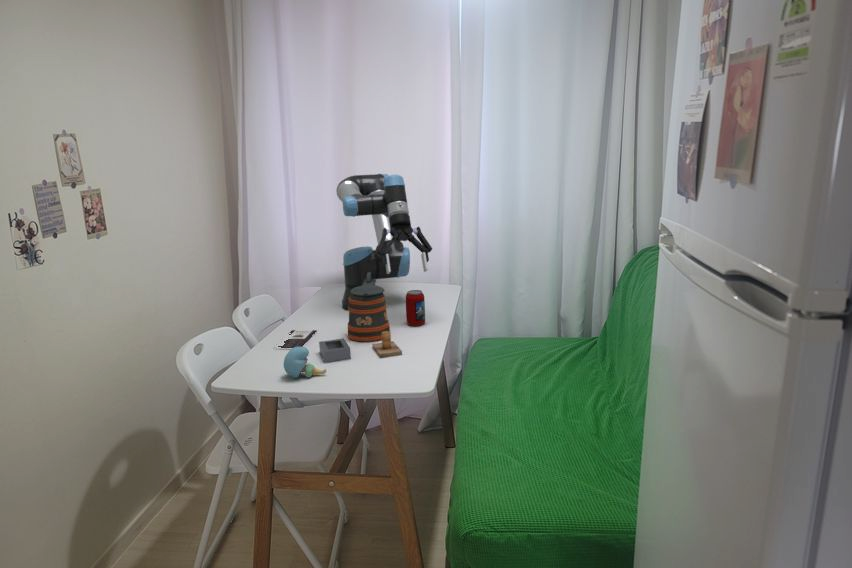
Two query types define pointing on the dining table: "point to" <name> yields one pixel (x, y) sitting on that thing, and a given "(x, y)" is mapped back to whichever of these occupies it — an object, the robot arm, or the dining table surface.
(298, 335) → the chocolate bar
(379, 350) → the keeper
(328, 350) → the grey rectangular frame
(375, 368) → the dining table surface
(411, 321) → the beverage can
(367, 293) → the beer stein
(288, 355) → the blue haired figurine
